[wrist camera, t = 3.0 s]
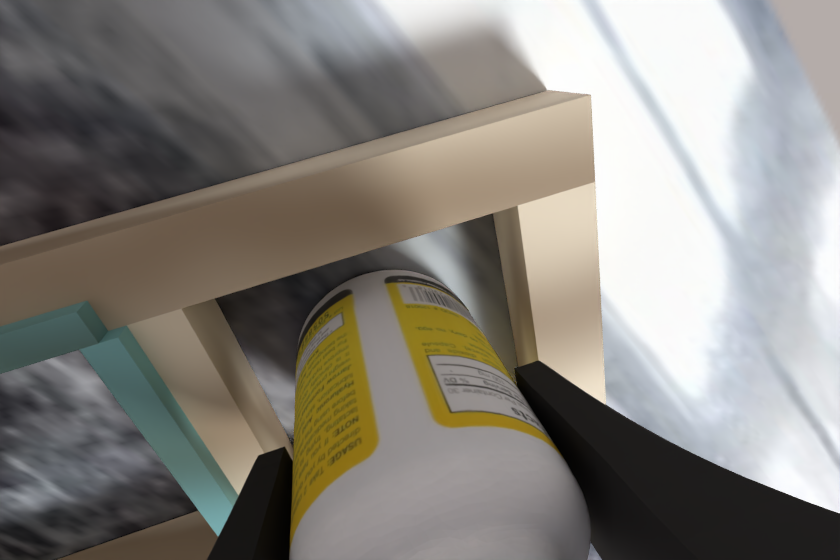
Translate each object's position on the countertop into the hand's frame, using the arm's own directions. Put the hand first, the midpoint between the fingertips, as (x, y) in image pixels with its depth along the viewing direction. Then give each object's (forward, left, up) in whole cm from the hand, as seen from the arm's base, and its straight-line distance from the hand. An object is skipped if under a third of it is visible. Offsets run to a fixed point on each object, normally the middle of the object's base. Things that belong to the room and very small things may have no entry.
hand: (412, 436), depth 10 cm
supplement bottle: (0, 0, -4) cm, 4 cm away
